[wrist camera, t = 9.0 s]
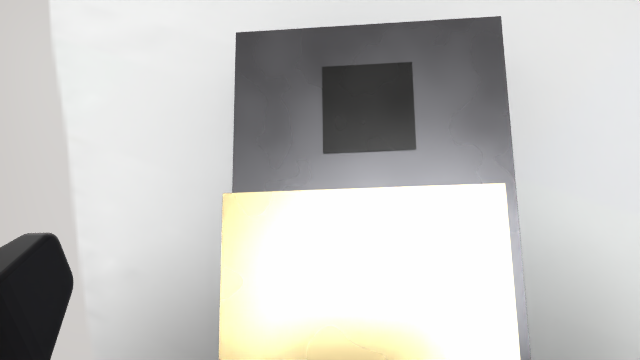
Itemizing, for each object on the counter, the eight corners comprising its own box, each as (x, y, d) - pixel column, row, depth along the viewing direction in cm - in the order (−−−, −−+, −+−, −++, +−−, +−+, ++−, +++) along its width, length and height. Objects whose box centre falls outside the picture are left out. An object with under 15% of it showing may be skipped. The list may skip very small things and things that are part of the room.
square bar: (442, 388, 20) (531, 499, 8) (319, 388, 21) (215, 494, 8) (435, 264, 21) (505, 183, 9) (317, 266, 22) (223, 193, 9)
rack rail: (535, 661, 18) (564, 728, 15) (245, 648, 19) (219, 709, 16) (486, 55, 23) (501, 14, 20) (254, 67, 24) (235, 31, 21)
